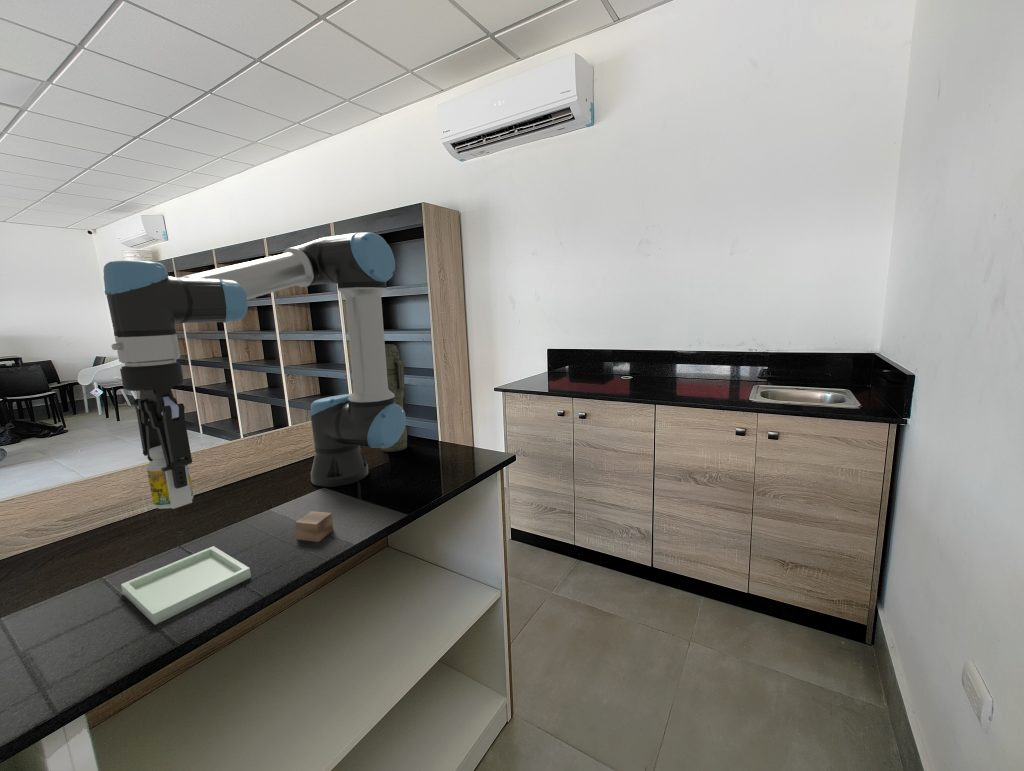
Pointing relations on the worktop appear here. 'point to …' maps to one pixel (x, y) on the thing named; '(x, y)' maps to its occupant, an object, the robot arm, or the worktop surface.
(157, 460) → the supplement bottle
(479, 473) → the worktop surface
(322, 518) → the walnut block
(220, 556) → the tray
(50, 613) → the worktop surface
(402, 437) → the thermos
